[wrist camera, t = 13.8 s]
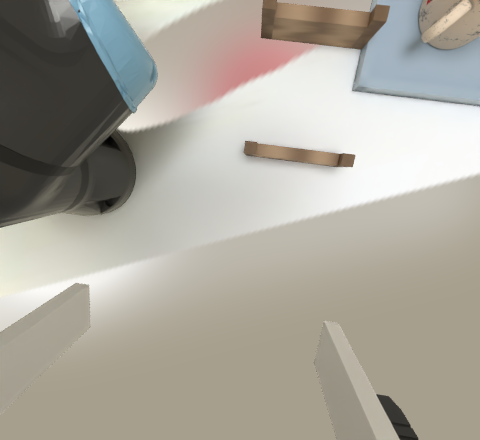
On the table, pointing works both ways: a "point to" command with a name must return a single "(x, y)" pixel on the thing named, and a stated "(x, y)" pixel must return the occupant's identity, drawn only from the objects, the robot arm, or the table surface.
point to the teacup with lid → (449, 22)
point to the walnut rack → (323, 33)
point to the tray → (416, 61)
